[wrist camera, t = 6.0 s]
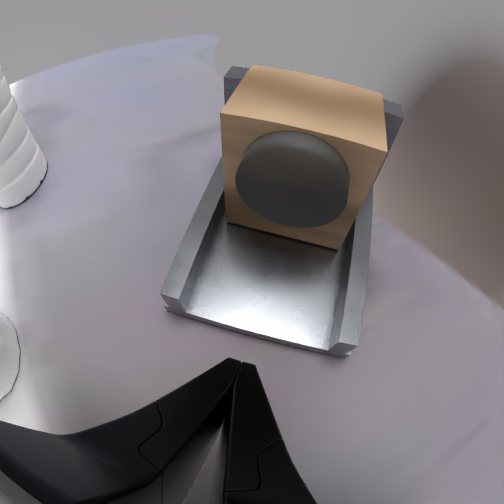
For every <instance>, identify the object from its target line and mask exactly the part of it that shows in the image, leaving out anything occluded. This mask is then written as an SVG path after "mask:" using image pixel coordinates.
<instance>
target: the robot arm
mask: <svg viewBox="0 0 504 504" xmlns="http://www.w3.org/2000/svg"><path fill="white" fill-rule="evenodd" d="M223 422H224V423H223ZM222 425H223V427H222ZM221 427H222V432H221V437H220V443H219V449H218V454H217V460H216V466H215V472H214V477H213V483H212V489H211V495H210V501H209V504H317V503H316V501H315V499H314V498H313V496H312V495H311V493H310V491H309V490H308V488H307V486H306V485H305V483H304V482H303V480H302V478H301V477H300V475H299V473H298V471H297V469H296V468H295V466H294V464H293V462H292V460H291V457H290V455H289V453H288V451H287V448H286V446H285V443H284V440H283V439H282V436H281V433H280V430H279V428H278V425H277V422H276V420H275V417H274V415H273V412H272V409H271V407H270V404H269V401H268V398H267V396H266V393H265V390H264V388H263V385H262V382H261V379H260V377H259V374H258V371H257V368H256V366H255V365H254V364H250V363H246V362H242V363H241V361H239V360H235V359H232V358H227V359H225V360H224V361H222V362H221V363H219V364H217V365H216V366H214V367H212V368H211V369H209V370H208V371H206V372H204V373H203V374H201V375H199V376H198V377H196V378H194V379H193V380H191V381H189V382H188V383H186V384H184V385H182V386H181V387H179V388H177V389H176V390H174V391H172V392H170V393H169V394H167V395H165V396H163V397H161V398H160V399H158V400H156V402H152V403H151V404H149V405H147V406H145V407H143V408H141V409H139V410H137V411H135V412H133V413H131V414H128V415H126V416H123V417H121V418H118V419H116V420H113V421H110V422H108V423H105V424H102V425H99V426H96V427H93V428H90V429H87V430H84V431H81V432H77V433H74V434H68V435H55V434H50V433H45V432H41V431H37V430H32V429H28V428H25V427H21V426H17V425H14V424H10V423H7V422H3V421H0V504H181V503H182V501H183V499H184V498H185V496H186V494H187V492H188V490H189V489H190V487H191V485H192V483H193V481H194V479H195V477H196V476H197V474H198V472H199V470H200V468H201V466H202V464H203V463H204V461H205V459H206V457H207V455H208V453H209V451H210V449H211V447H212V445H213V443H214V441H215V440H216V438H217V436H218V434H219V432H220V429H221Z"/></svg>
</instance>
